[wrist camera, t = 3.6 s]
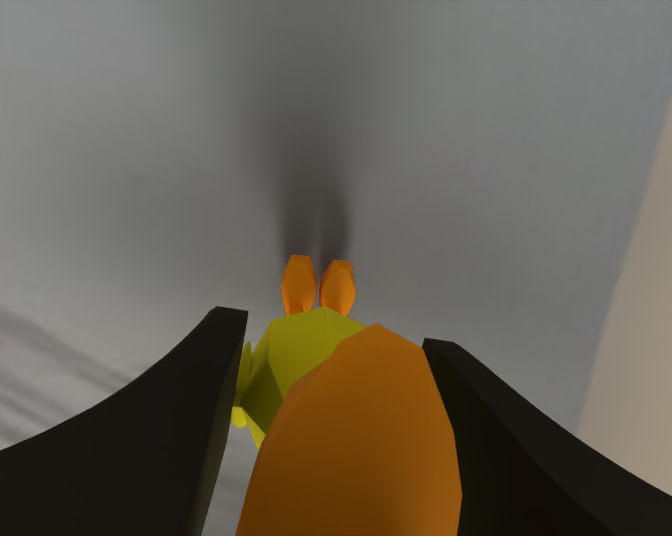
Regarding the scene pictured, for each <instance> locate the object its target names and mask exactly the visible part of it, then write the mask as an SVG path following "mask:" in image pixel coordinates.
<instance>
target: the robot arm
mask: <svg viewBox="0 0 672 536" xmlns="http://www.w3.org/2000/svg"><path fill="white" fill-rule="evenodd" d="M247 318H248V311H245V310H238V309H232V308H225V307H219V306H216V307H215V308H213V309H212V310H210V311H209V313H208V314H207V315H206V316H205V317H204V319H203V320H202V321H201V322H200V323H199V324H198V325H197V326H196V327H195V328H194V329H193V330H192V331H191V332H190V333H189V334H188V335H187V336H186V337H185V338H184V339H183V340H182V341H181V342H180V343H179V344H178V345H177V346H175V347H174V348H173V349H172V350H171V351H170V352H169V353H168V354H167V355H165V356H164V357H163V358H162V359H161V360H159V361H158V362H157V363H155V364H154V365H153V366H152V367H150V368H149V369H148V370H146V371H145V372H144V373H143V374H141V375H140V376H139V377H138V378H136V379H135V380H133V381H132V382H131V383H129V384H128V385H126V386H125V387H123V388H122V389H120V390H119V391H117V392H116V393H114V394H113V395H111V396H110V397H108V398H106V399H105V400H103V401H102V402H100V403H98V404H97V405H95V406H93V407H92V408H90V409H88V410H86V411H84V412H82V413H80V414H78V415H76V416H74V417H72V418H70V419H68V420H66V421H64V422H62V423H60V424H58V425H56V426H54V427H52V428H51V429H49V430H47V431H45V432H42V433H40V434H38V435H36V436H33V437H31V438H29V439H27V440H24V441H22V442H20V443H17V444H15V445H13V446H10V447H8V448H5V449H3V450H0V536H201V534H202V530H203V526H204V523H205V519H206V516H207V512H208V508H209V505H210V501H211V498H212V494H213V490H214V487H215V483H216V480H217V476H218V472H219V469H220V465H221V462H222V458H223V454H224V451H225V447H226V443H227V437H228V432H229V426H230V420H231V414H232V408H233V402H234V396H235V390H236V384H237V378H238V372H239V366H240V360H241V354H242V348H243V342H244V336H245V330H246V324H247ZM422 348H423V350H424V353H425V356H426V358H427V361H428V364H429V366H430V369H431V372H432V375H433V377H434V380H435V383H436V385H437V388H438V391H439V393H440V396H441V399H442V402H443V404H444V407H445V410H446V412H447V415H448V418H449V420H450V423H451V426H452V429H453V431H454V438H455V445H456V453H457V460H458V468H459V475H460V483H461V490H462V501H461V508H460V516H459V523H458V530H457V536H672V496H670V495H669V494H667V493H665V492H663V491H661V490H660V489H658V488H656V487H654V486H652V485H650V484H649V483H647V482H645V481H644V480H642V479H640V478H638V477H637V476H635V475H633V474H632V473H630V472H628V471H627V470H625V469H623V468H622V467H620V466H619V465H617V464H616V463H614V462H613V461H611V460H609V459H608V458H606V457H605V456H603V455H602V454H600V453H599V452H597V451H595V450H594V449H592V448H591V447H589V446H588V445H586V444H585V443H583V442H582V441H581V440H579V439H578V438H576V437H575V436H573V435H572V434H571V433H569V432H568V431H567V430H565V429H564V428H563V427H561V426H560V425H559V424H557V423H556V422H554V421H553V420H552V419H550V418H549V417H548V416H546V415H545V414H544V413H542V412H541V411H540V410H539V409H537V408H536V407H535V406H534V405H532V404H531V403H530V402H528V401H527V400H526V399H525V398H524V397H522V396H521V395H520V394H519V393H517V392H516V391H515V390H514V389H512V388H511V387H510V386H509V385H508V384H506V383H505V382H504V381H503V380H502V379H500V378H499V377H498V376H497V375H496V374H494V373H493V372H492V371H491V370H490V369H488V368H487V367H486V366H485V365H484V364H482V363H481V362H480V361H479V360H477V359H476V358H475V357H474V356H472V355H471V354H470V353H469V352H467V351H466V350H465V349H463V348H462V347H460V346H459V345H457V344H456V343H454V342H450V341H443V340H437V339H430V338H425V339H424V342H423V345H422Z"/></svg>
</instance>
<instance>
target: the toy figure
mask: <svg viewBox="0 0 672 536" xmlns="http://www.w3.org/2000/svg"><path fill="white" fill-rule="evenodd" d="M316 289H317V280H316V274H315V271H314V268H313V265H312V261H311V258H310V256H307V255H291V257H290V260H289V262H288V264H287V266H286V268H285V270H284V273H283V275H282V291H281V293H282V299H283V304H284V310H285V315H286V317H282V318H278V319H274V320H272V321H271V323H270V325H269V326H268V328H267V329H266V331H265V333H264V334H263V336H262V338H261V339H260V341H259V343H258V344H257V346H256V348H255V349H254V351H253V353H252V354H251V345H250V342H249V341H248V342H247V344H246V345H245V347H244V349H243V352H242V354H241V360H240V366H239V372H238V378H237V384H236V390H235V396H234V402H233V408H232V414H231V420H232V423H233V425H234V426H236V427H238V428H239V429H240V428H242V427H244V426H246V424H248V426H249V429H250V431H251V433H252V436H253V438H254V441H255V443H256V445H257V448H258V450H259V452H258V456H257V459H256V462H255V466H254V469H253V472H252V475H251V479H250V482H249V485H248V489H247V493H246V497H245V501H244V504H243V508H242V512H241V516H240V519H239V523H238V527H237V531H236V534H235V536H457V530H458V523H459V516H460V508H461V501H462V490H461V483H460V475H459V468H458V460H457V453H456V445H455V438H454V431H453V429H452V426H451V423H450V420H449V418H448V415H447V412H446V410H445V407H444V404H443V402H442V399H441V396H440V393H439V391H438V388H437V385H436V383H435V380H434V377H433V375H432V372H431V369H430V366H429V364H428V361H427V358H426V356H425V353H424V350H423V348H421V347H419V346H417V345H416V344H414V343H412V342H410V341H408V340H406V339H405V338H403V337H401V336H399V335H397V334H395V333H394V332H392V331H390V330H388V329H386V328H385V327H383V326H381V325H379V324H373V325H371V326H369V327H367V326H365V325H363V324H361V323H359V322H357V321H355V320H352V319H350V318H348V317H347V315H348V313H349V311H350V309H351V308H352V306H353V303H354V300H355V297H356V289H355V282H354V275H353V269H352V264H351V262H348V261H341V260H334V259H333V260H332V262H331V263H330V265H329V267H328V268H327V270H326V272H325V273H324V275H323V276H322V278H321V283H320V289H319V302H320V308H317V309H313V310H311V309H312V306H313V303H314V300H315V295H316Z"/></svg>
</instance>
